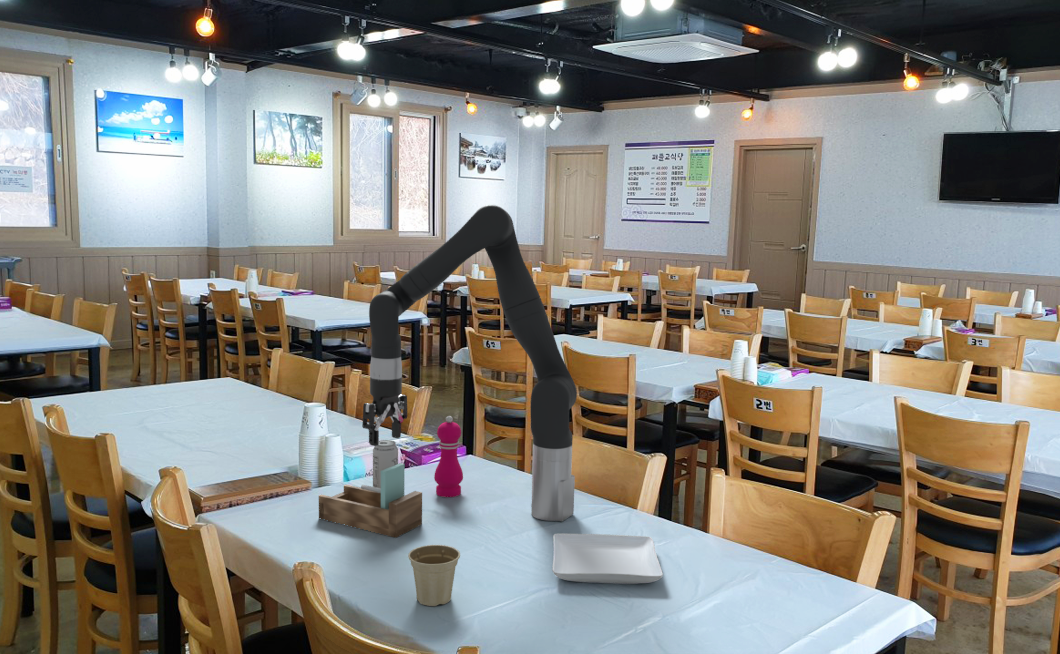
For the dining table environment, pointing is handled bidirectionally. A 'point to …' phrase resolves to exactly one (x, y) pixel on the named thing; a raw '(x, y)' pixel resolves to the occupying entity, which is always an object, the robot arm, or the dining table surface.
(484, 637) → the dining table surface
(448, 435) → the pepper mill
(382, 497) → the pusher
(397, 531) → the wooden box
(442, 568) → the flower pot
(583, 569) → the salad plate
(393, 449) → the energy drink can
